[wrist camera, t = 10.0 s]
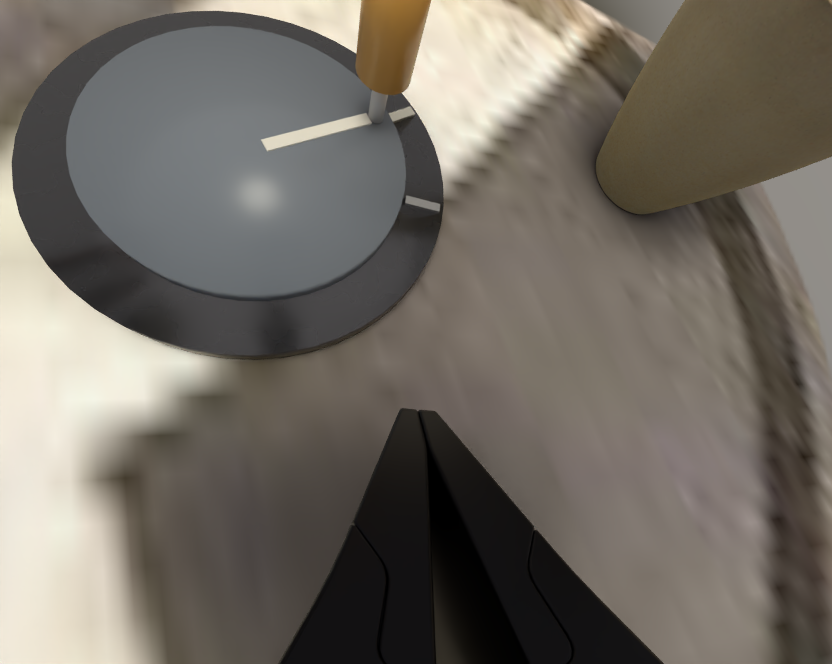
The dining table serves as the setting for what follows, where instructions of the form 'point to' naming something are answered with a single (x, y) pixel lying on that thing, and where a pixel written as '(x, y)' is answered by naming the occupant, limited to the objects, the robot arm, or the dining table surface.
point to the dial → (247, 154)
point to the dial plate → (182, 308)
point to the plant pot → (723, 104)
